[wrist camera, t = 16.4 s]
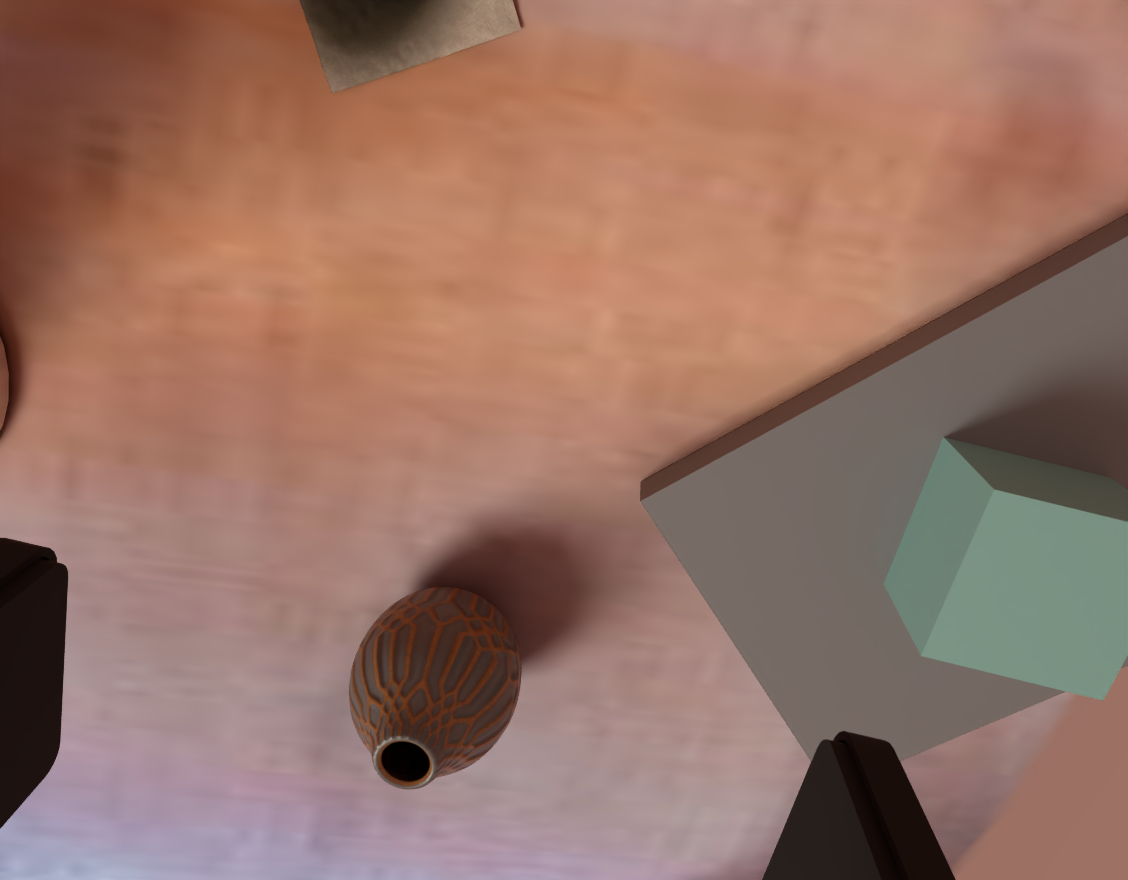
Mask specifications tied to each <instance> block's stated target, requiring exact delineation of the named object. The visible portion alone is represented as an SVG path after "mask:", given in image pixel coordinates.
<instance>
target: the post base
mask: <svg viewBox="0 0 1128 880" xmlns="http://www.w3.org/2000/svg"><path fill="white" fill-rule="evenodd" d="M943 437H945V438H949V439H954V440H958V441H962V442H966V443H970V444H974V445H978V446H982V447H987V448H991V449H995V450H999V451H1003V452H1007V453H1011V454H1015V455H1019V456H1024V457H1028V458H1032V459H1036V460H1040V461H1044V462H1048V463H1052V464H1057V465H1061V466H1065V467H1069V468H1073V469H1077V470H1081V471H1085V472H1089V473H1094V474H1098V475H1102V476H1106V477H1110V478H1113V479H1114V480H1115V481H1117V482H1118V483H1119V484H1121V485H1122V486H1123V487H1125V488H1126V489H1127V490H1128V214H1126V215H1125V216H1123V217H1121V218H1119V219H1117V220H1116V221H1114V222H1112V223H1110V224H1108V225H1106V226H1105V227H1103V228H1101V229H1099V230H1097V231H1096V232H1094V233H1092V234H1090V235H1088V236H1086V237H1085V238H1083V239H1081V240H1079V241H1077V242H1076V243H1074V244H1072V245H1070V246H1068V247H1066V248H1065V249H1063V250H1061V251H1059V252H1057V253H1056V254H1054V255H1052V256H1050V257H1048V258H1046V259H1045V260H1043V261H1041V262H1039V263H1037V264H1036V265H1034V266H1032V267H1030V268H1028V269H1026V270H1025V271H1023V272H1021V273H1019V274H1017V275H1016V276H1014V277H1012V278H1010V279H1008V280H1007V281H1005V282H1003V283H1001V284H999V285H997V286H996V287H994V288H992V289H990V290H988V291H987V292H985V293H983V294H981V295H979V296H977V297H976V298H974V299H972V300H970V301H968V302H967V303H965V304H963V305H961V306H959V307H957V308H956V309H954V310H952V311H950V312H948V313H947V314H945V315H943V316H941V317H939V318H937V319H936V320H934V321H932V322H930V323H928V324H927V325H925V326H923V327H921V328H919V329H917V330H916V331H914V332H912V333H910V334H908V335H907V336H905V337H903V338H901V339H899V340H897V341H896V342H894V343H892V344H890V345H888V346H887V347H885V348H883V349H881V350H879V351H877V352H876V353H874V354H872V355H870V356H868V357H867V358H865V359H863V360H861V361H859V362H858V363H856V364H854V365H852V366H850V367H848V368H847V369H845V370H843V371H841V372H839V373H838V374H836V375H834V376H832V377H830V378H828V379H827V380H825V381H823V382H821V383H819V384H818V385H816V386H814V387H812V388H810V389H808V390H807V391H805V392H803V393H801V394H799V395H798V396H796V397H794V398H792V399H790V400H788V401H787V402H785V403H783V404H781V405H779V406H778V407H776V408H774V409H772V410H770V411H768V412H767V413H765V414H763V415H761V416H759V417H758V418H756V419H754V420H752V421H750V422H748V423H747V424H745V425H743V426H741V427H739V428H738V429H736V430H734V431H732V432H730V433H728V434H727V435H725V436H723V437H721V438H719V439H718V440H716V441H714V442H712V443H710V444H708V445H707V446H705V447H703V448H701V449H699V450H698V451H696V452H694V453H692V454H690V455H689V456H687V457H685V458H683V459H681V460H679V461H678V462H676V463H674V464H672V465H670V466H669V467H667V468H665V469H663V470H661V471H659V472H658V473H656V474H654V475H652V476H650V477H649V478H647V479H645V480H643V481H641V491H640V501H641V503H642V504H643V506H644V508H645V509H646V511H647V512H648V514H649V515H650V517H651V518H652V520H653V521H654V523H655V524H656V526H657V527H658V529H659V530H660V532H661V533H662V535H663V536H664V538H665V540H666V541H667V543H668V544H669V546H670V547H671V549H672V550H673V552H674V553H675V555H676V556H677V558H678V559H679V561H680V562H681V564H682V565H683V567H684V568H685V570H686V572H687V573H688V575H689V576H690V578H691V579H692V581H693V582H694V584H695V585H696V587H697V588H698V590H699V591H700V593H701V594H702V596H703V597H704V599H705V600H706V602H707V604H708V605H709V607H710V608H711V610H712V611H713V613H714V614H715V616H716V617H717V619H718V620H719V622H720V623H721V625H722V626H723V628H724V629H725V631H726V632H727V634H728V636H729V637H730V639H731V640H732V642H733V643H734V645H735V646H736V648H737V649H738V651H739V652H740V654H741V655H742V657H743V658H744V660H745V661H746V663H747V664H748V666H749V668H750V669H751V671H752V672H753V674H754V675H755V677H756V678H757V680H758V681H759V683H760V684H761V686H762V687H763V689H764V690H765V692H766V693H767V695H768V696H769V698H770V700H771V701H772V703H773V704H774V706H775V707H776V709H777V710H778V712H779V713H780V715H781V716H782V718H783V719H784V721H785V722H786V724H787V725H788V727H789V728H790V730H791V732H792V733H793V735H794V736H795V738H796V739H797V741H798V742H799V744H800V745H801V747H802V748H803V750H804V751H805V753H806V754H807V756H808V757H809V759H810V760H811V761H812V759H813V757H814V754H815V752H816V749H817V747H818V745H819V744H820V742H821V741H822V740H825V739H828V740H832V741H833V739H834V738H835V736H836V735H837V734H838V733H839V732H842V731H847V732H851V733H855V734H860V735H864V736H868V737H873V738H877V739H881V740H885V741H887V742H889V743H890V744H891V745H892V747H893V748H894V750H895V752H896V754H897V756H898V758H899V761H901V760H904V759H906V758H908V757H911V756H913V755H916V754H918V753H920V752H923V751H925V750H928V749H930V748H932V747H935V746H937V745H939V744H942V743H944V742H947V741H949V740H951V739H954V738H956V737H959V736H961V735H963V734H966V733H968V732H971V731H973V730H975V729H978V728H980V727H982V726H985V725H987V724H990V723H992V722H994V721H997V720H999V719H1002V718H1004V717H1006V716H1009V715H1011V714H1013V713H1016V712H1018V711H1021V710H1023V709H1025V708H1028V707H1030V706H1033V705H1035V704H1037V703H1040V702H1042V701H1045V700H1047V699H1049V698H1052V697H1054V696H1056V695H1059V694H1061V693H1064V692H1066V691H1062V690H1058V689H1054V688H1050V687H1046V686H1042V685H1038V684H1033V683H1029V682H1025V681H1021V680H1017V679H1013V678H1009V677H1005V676H1001V675H997V674H993V673H989V672H984V671H980V670H976V669H972V668H968V667H964V666H960V665H956V664H952V663H948V662H944V661H940V660H935V659H931V658H927V657H923V656H921V655H920V653H919V651H918V649H917V647H916V645H915V644H914V642H913V640H912V638H911V636H910V634H909V632H908V630H907V628H906V626H905V624H904V623H903V621H902V619H901V617H900V615H899V613H898V611H897V609H896V607H895V605H894V603H893V601H892V600H891V598H890V596H889V594H888V592H887V590H886V588H885V586H884V582H885V579H886V577H887V575H888V572H889V570H890V567H891V565H892V562H893V560H894V557H895V555H896V552H897V550H898V547H899V545H900V543H901V540H902V538H903V535H904V533H905V530H906V528H907V525H908V523H909V520H910V518H911V516H912V513H913V511H914V508H915V506H916V503H917V501H918V498H919V496H920V493H921V491H922V488H923V486H924V484H925V481H926V479H927V476H928V474H929V471H930V469H931V466H932V464H933V461H934V459H935V457H936V454H937V452H938V449H939V447H940V444H941V442H942V439H943ZM1126 666H1128V656H1127V657H1126V659H1125V661H1124V663H1123V665H1122V667H1121V668H1123V667H1126Z"/></svg>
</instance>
